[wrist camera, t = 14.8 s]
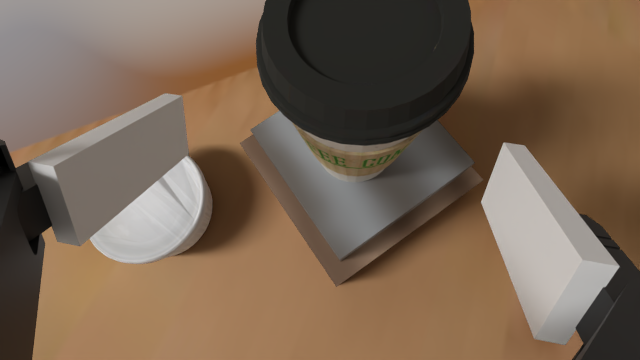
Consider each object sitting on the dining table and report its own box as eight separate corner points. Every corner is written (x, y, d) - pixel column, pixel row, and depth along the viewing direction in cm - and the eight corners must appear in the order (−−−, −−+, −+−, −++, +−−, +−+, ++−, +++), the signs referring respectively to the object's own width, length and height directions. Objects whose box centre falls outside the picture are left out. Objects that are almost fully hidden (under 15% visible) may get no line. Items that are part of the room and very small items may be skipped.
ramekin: (235, 170, 38) (219, 154, 33) (204, 277, 35) (180, 277, 30) (139, 150, 39) (109, 132, 34) (102, 251, 36) (62, 247, 31)
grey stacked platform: (371, 76, 39) (378, 27, 32) (468, 190, 35) (502, 166, 28) (250, 156, 38) (226, 126, 30) (337, 285, 34) (335, 288, 26)
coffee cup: (306, 216, 28) (263, 151, 13) (285, 104, 30) (231, -52, 16) (430, 191, 27) (525, 97, 13) (398, 81, 30) (448, -99, 16)
